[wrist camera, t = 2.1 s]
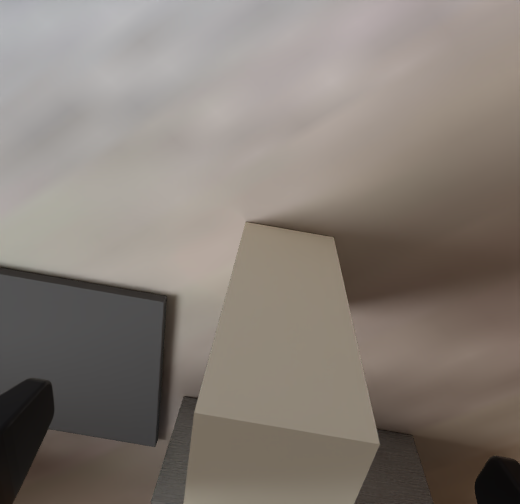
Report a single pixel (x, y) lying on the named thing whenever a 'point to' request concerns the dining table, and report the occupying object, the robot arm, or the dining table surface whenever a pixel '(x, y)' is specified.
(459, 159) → the dining table surface
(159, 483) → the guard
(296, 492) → the cream rectangular prism
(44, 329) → the mat
